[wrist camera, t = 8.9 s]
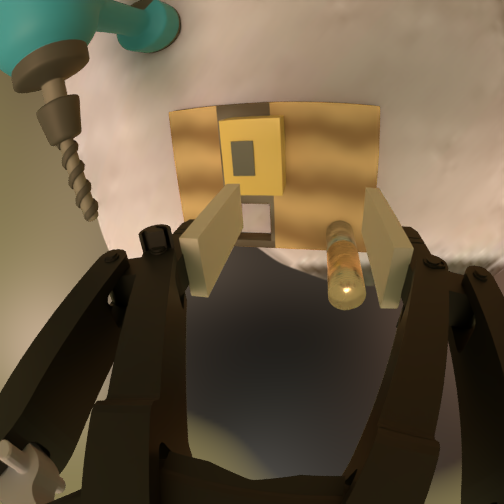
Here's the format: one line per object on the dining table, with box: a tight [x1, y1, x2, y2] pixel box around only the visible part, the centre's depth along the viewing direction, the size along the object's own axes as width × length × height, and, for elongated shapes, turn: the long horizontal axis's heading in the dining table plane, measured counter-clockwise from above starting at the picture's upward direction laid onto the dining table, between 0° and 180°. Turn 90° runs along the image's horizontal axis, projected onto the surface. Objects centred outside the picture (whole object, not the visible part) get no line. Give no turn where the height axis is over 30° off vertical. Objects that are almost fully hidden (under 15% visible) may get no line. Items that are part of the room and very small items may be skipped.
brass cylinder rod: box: [326, 220, 366, 310], centre depth 29 cm, size 3×3×12 cm
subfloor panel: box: [169, 102, 380, 252], centre depth 33 cm, size 18×24×2 cm
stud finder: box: [219, 115, 286, 196], centre depth 29 cm, size 8×6×4 cm
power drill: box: [0, 0, 180, 222], centre depth 19 cm, size 28×9×23 cm, turn 12°
